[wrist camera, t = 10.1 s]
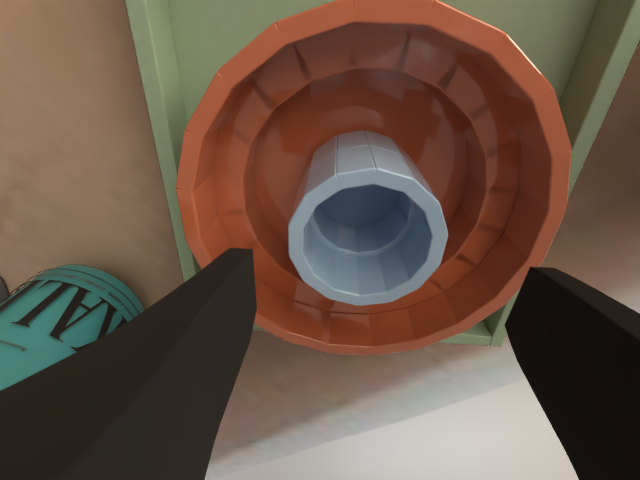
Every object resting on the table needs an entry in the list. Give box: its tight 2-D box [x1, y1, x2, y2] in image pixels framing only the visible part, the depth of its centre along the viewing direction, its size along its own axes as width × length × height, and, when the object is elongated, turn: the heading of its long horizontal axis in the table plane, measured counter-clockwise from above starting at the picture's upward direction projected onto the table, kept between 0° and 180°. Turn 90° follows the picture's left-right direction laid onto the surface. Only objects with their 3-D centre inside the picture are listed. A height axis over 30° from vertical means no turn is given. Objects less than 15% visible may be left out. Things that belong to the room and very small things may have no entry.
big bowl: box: [176, 0, 572, 356], centre depth 14 cm, size 13×13×5 cm
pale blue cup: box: [288, 130, 448, 306], centre depth 13 cm, size 5×5×6 cm
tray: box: [125, 0, 640, 347], centre depth 14 cm, size 17×20×2 cm
